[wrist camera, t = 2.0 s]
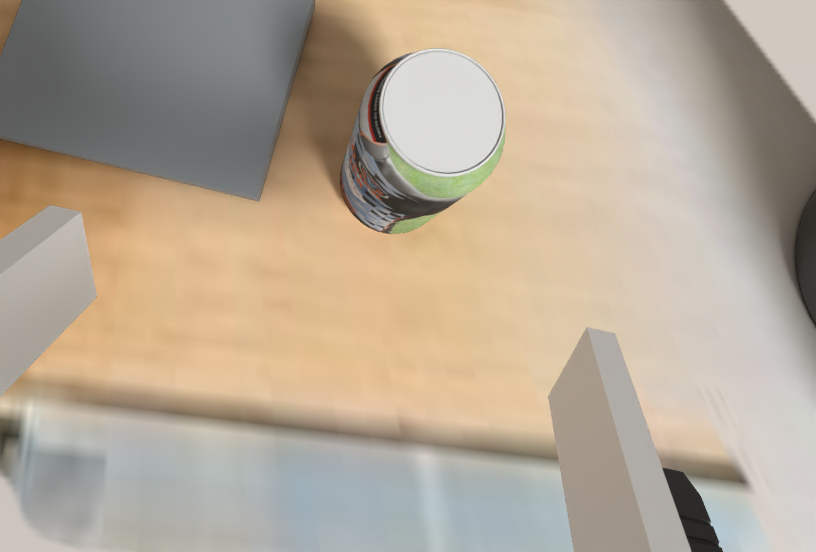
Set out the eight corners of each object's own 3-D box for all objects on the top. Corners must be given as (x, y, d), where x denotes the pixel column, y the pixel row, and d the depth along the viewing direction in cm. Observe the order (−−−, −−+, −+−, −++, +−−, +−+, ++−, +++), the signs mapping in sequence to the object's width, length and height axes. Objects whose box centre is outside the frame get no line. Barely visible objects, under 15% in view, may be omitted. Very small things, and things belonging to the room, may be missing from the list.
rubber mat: (315, 5, 32) (313, -4, 31) (259, 201, 30) (256, 197, 29) (58, -62, 31) (50, -72, 31) (-18, 134, 29) (-28, 128, 29)
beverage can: (359, 127, 31) (354, -11, 19) (475, 164, 31) (540, 51, 19) (326, 223, 30) (299, 140, 18) (446, 261, 30) (495, 204, 18)
